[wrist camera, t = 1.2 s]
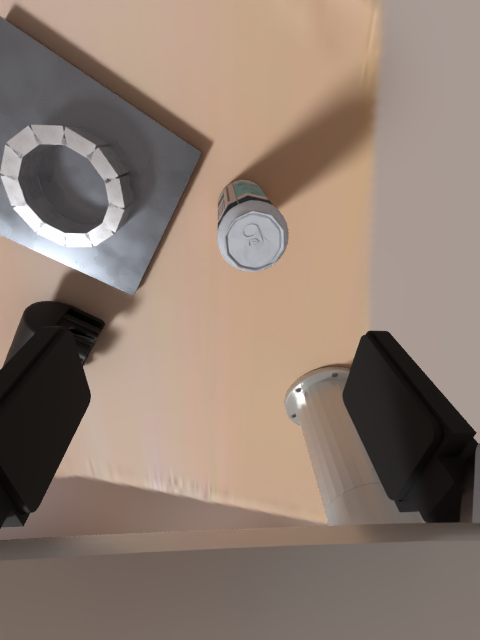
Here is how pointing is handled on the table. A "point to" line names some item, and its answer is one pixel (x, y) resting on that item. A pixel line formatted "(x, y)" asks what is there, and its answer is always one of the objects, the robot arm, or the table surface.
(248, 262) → the beer can
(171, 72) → the table surface
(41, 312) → the end cap
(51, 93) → the grey square plate
